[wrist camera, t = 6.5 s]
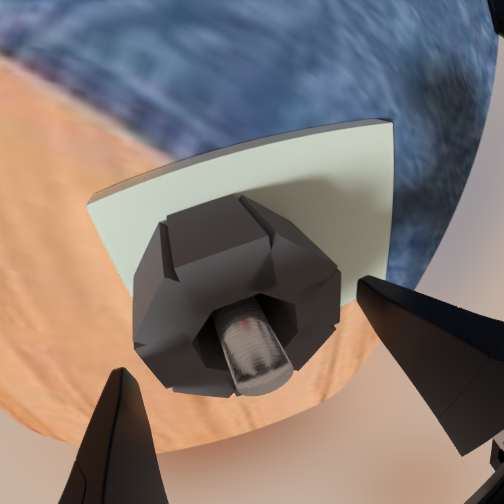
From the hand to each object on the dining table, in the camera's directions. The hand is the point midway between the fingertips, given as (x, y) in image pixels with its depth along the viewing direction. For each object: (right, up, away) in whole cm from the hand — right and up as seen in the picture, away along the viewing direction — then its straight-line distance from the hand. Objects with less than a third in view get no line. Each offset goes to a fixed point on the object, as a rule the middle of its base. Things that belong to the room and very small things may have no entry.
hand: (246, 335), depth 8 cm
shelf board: (+1, +3, +4) cm, 5 cm away
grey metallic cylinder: (-1, +2, +3) cm, 4 cm away
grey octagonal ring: (-1, +1, +3) cm, 3 cm away
